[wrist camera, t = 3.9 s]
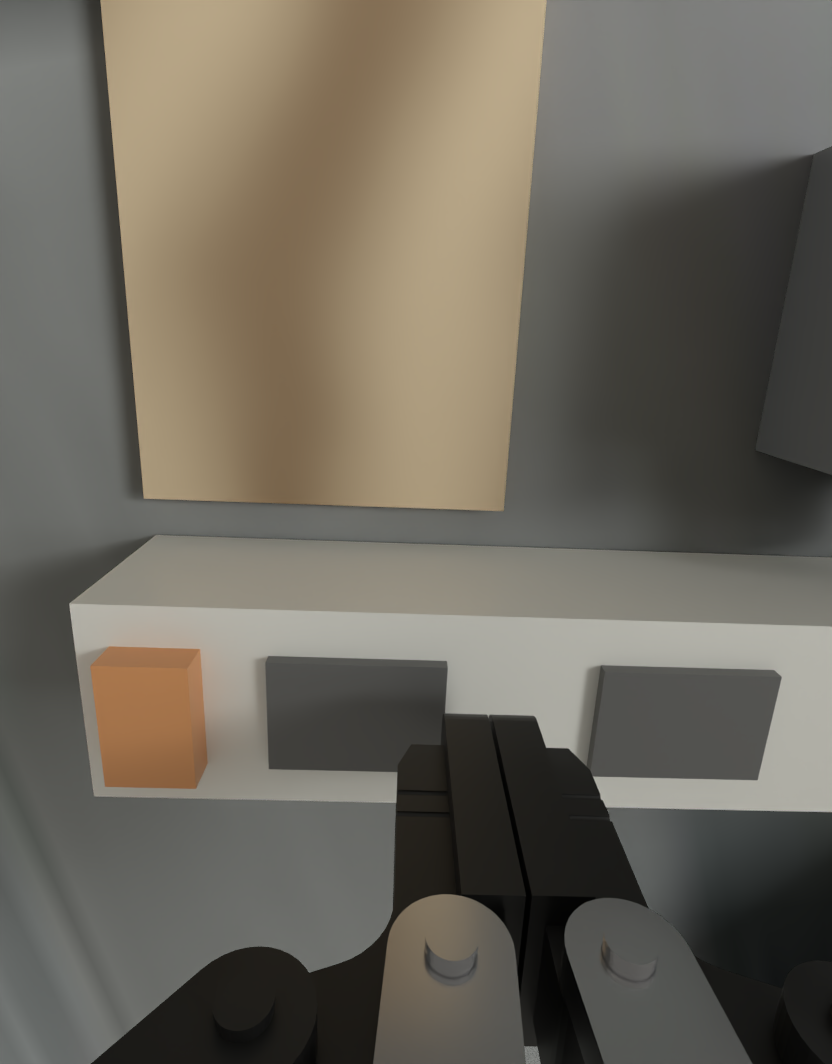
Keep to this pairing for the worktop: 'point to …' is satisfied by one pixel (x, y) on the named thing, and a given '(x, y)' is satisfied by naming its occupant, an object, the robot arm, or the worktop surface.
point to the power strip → (455, 668)
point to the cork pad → (324, 243)
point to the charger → (805, 339)
